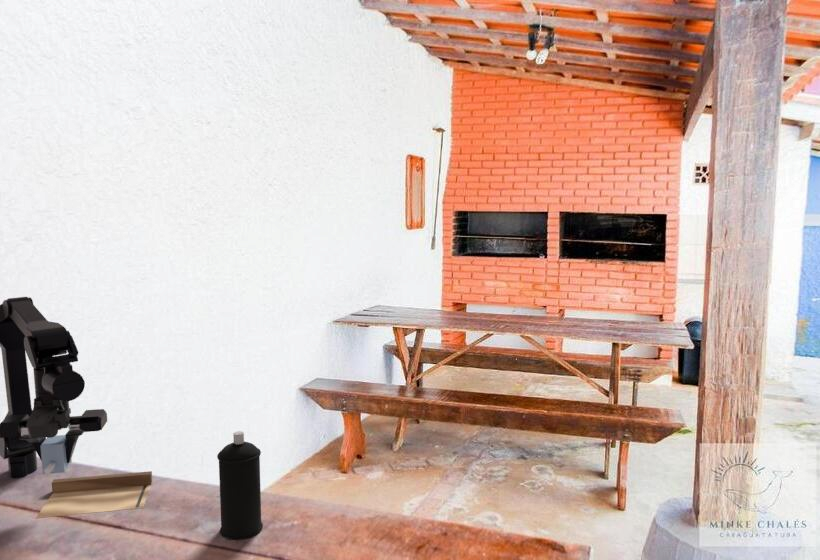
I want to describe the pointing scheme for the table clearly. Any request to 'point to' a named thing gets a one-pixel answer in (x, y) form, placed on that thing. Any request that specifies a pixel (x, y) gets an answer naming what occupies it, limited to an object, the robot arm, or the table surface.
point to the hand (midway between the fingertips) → (57, 463)
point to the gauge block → (54, 455)
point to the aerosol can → (240, 489)
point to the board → (97, 494)
